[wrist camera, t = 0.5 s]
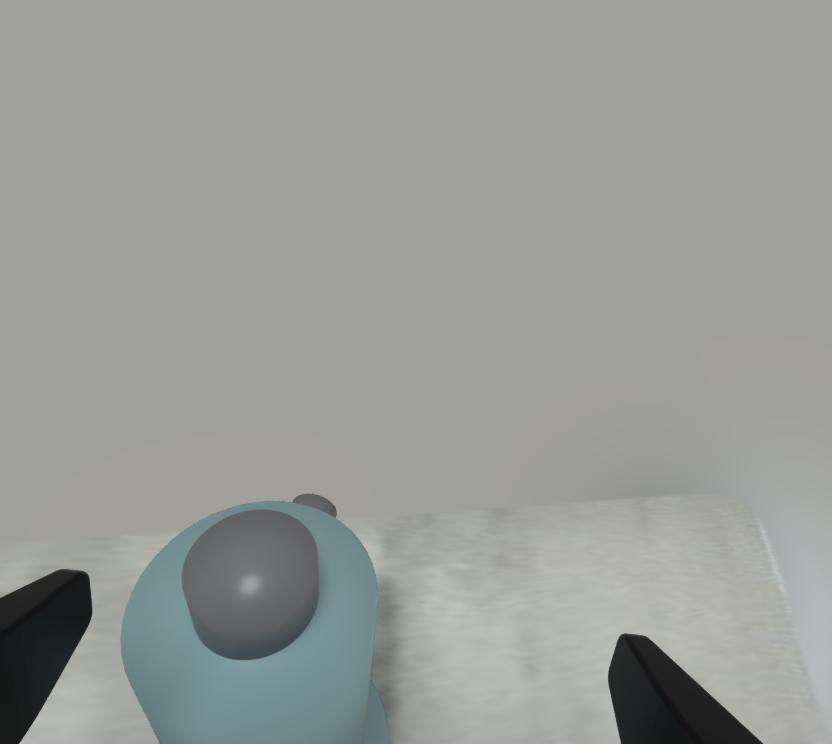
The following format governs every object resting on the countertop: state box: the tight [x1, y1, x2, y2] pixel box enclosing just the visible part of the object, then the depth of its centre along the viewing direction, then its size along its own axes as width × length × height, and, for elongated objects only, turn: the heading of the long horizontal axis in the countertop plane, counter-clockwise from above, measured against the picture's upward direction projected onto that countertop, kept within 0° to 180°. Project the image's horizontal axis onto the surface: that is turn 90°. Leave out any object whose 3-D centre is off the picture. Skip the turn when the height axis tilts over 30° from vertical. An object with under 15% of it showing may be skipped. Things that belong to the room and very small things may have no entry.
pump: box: [121, 494, 389, 744], centre depth 16 cm, size 9×8×13 cm
